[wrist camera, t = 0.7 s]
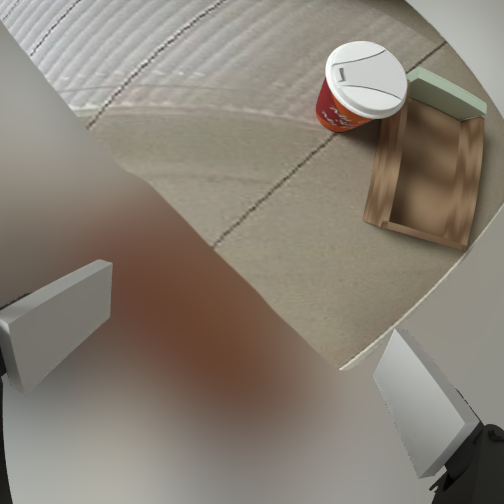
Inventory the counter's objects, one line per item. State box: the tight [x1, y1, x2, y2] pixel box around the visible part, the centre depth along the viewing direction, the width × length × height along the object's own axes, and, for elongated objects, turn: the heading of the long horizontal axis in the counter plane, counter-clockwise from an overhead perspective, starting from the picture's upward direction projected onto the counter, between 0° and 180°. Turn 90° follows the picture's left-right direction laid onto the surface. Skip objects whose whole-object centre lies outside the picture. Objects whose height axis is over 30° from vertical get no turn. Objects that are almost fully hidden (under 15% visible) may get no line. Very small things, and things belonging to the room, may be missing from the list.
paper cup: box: [316, 41, 408, 132], centre depth 26 cm, size 8×8×14 cm
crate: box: [363, 79, 484, 252], centre depth 30 cm, size 18×13×6 cm
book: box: [406, 67, 487, 120], centre depth 27 cm, size 2×11×8 cm, turn 78°
